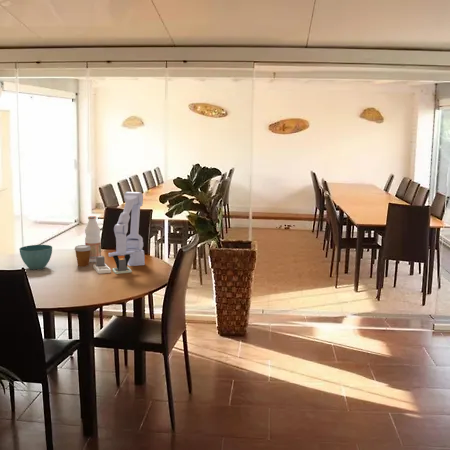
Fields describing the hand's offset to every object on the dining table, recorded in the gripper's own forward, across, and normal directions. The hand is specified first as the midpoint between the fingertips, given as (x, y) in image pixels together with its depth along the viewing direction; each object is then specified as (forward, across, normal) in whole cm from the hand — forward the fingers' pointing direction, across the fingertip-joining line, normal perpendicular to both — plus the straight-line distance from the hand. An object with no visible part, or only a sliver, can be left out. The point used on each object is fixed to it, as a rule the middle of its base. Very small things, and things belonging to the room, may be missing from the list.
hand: (121, 268), depth 322 cm
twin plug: (+2, -10, +11) cm, 15 cm away
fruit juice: (+2, -10, +34) cm, 36 cm away
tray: (+2, 0, 0) cm, 2 cm away
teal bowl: (+2, -44, +28) cm, 52 cm away
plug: (+2, 0, 0) cm, 2 cm away
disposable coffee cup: (+2, -18, +23) cm, 29 cm away
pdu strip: (+2, -10, +7) cm, 12 cm away
